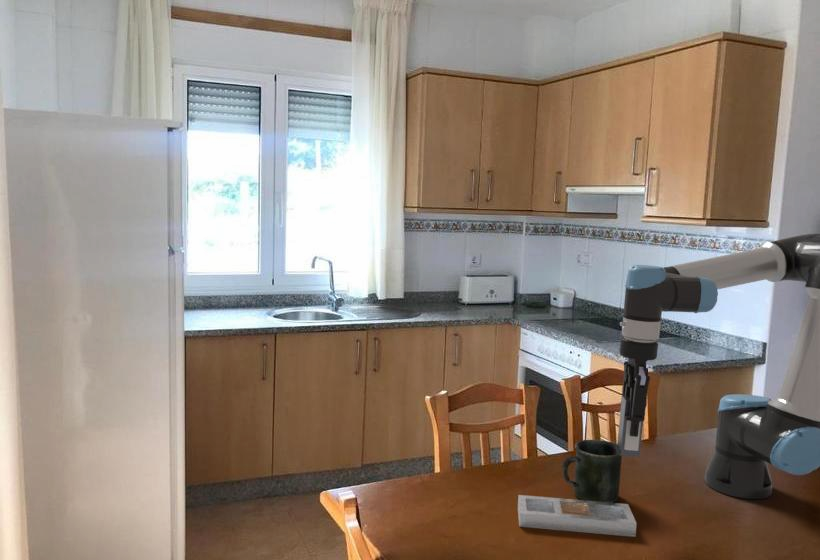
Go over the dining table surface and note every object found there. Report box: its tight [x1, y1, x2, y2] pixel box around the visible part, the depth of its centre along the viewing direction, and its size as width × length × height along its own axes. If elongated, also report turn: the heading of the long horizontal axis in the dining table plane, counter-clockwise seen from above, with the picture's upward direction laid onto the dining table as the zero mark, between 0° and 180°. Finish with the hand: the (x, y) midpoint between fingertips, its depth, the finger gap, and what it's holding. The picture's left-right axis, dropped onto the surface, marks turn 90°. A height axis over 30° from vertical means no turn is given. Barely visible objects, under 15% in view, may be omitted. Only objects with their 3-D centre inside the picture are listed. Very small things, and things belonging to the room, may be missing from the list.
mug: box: [561, 439, 623, 503], centre depth 160 cm, size 11×15×12 cm
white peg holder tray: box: [517, 494, 638, 538], centre depth 147 cm, size 24×9×3 cm, turn 83°
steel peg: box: [616, 394, 644, 458], centre depth 145 cm, size 4×4×12 cm
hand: (628, 445), depth 146 cm, fingers closed on steel peg, 4 cm apart
